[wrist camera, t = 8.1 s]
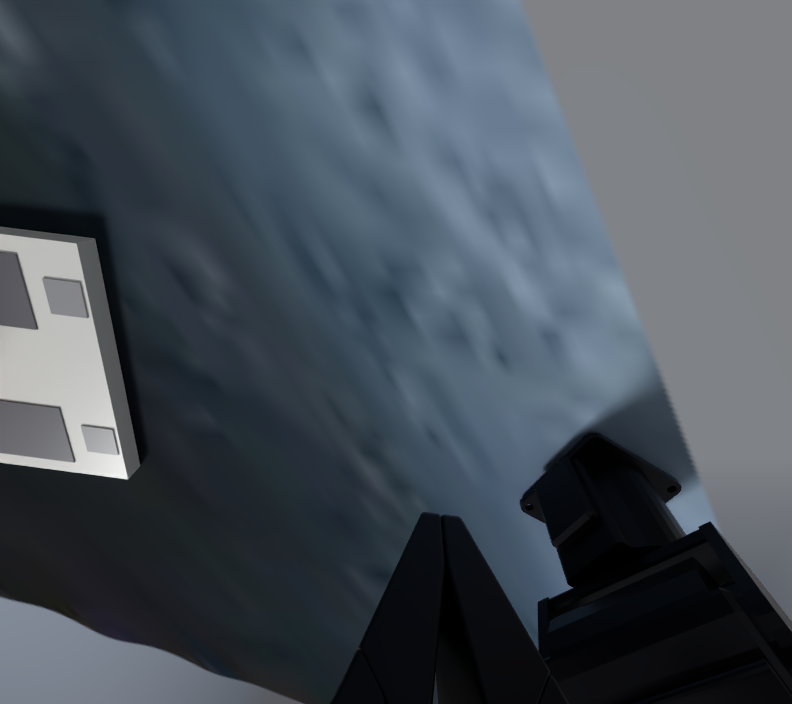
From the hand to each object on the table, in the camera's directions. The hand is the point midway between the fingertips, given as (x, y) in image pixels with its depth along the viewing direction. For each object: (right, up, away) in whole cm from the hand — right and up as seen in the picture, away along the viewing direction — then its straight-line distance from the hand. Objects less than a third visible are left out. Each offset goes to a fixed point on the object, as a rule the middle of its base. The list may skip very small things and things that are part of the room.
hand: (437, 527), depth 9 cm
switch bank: (-24, +4, +14) cm, 28 cm away
